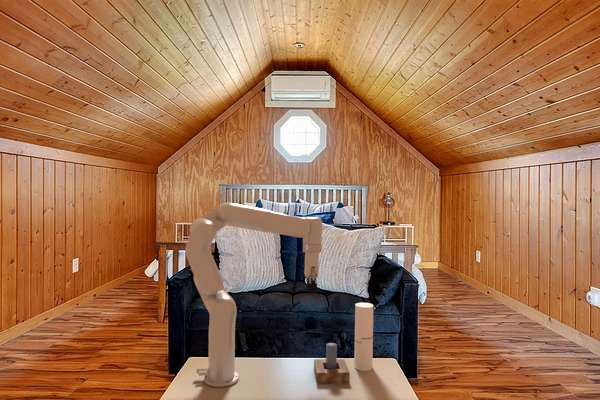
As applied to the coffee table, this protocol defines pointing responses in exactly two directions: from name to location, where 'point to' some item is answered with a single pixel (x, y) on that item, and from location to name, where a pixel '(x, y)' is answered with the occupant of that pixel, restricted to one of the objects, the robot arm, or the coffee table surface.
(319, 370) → the socket block
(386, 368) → the coffee table surface
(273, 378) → the coffee table surface
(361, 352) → the cylindrical container
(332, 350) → the peg
